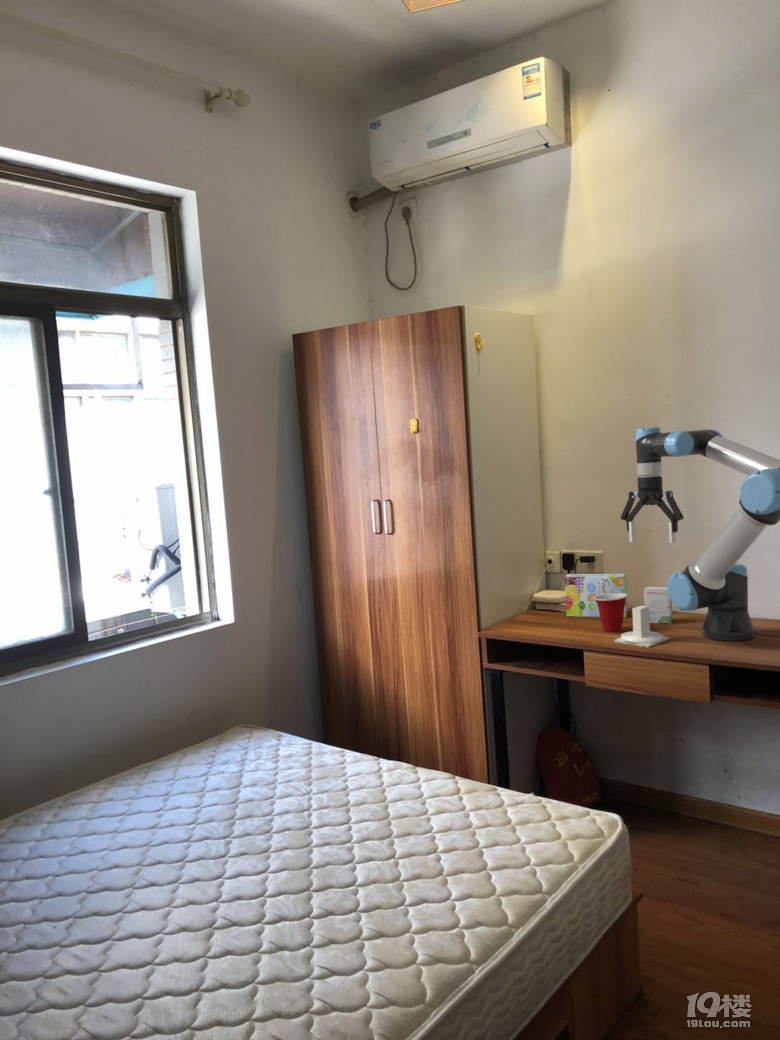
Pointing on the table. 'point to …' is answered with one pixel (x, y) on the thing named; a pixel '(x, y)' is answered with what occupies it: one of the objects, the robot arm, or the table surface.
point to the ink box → (658, 604)
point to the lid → (641, 628)
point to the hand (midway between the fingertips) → (652, 542)
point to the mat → (641, 644)
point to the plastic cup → (611, 610)
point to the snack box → (591, 592)
